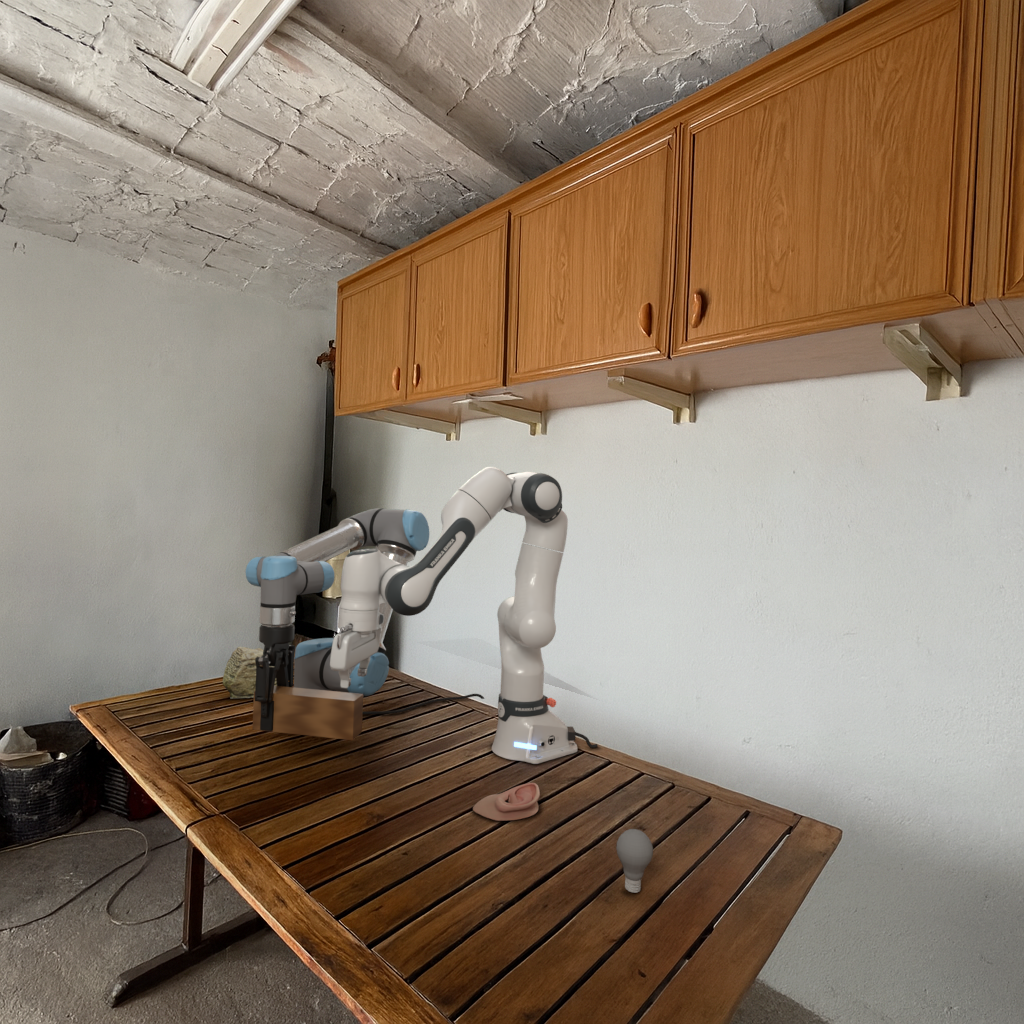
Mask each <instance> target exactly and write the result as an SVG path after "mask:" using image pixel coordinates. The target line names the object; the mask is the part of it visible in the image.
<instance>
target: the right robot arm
mask: <svg viewBox="0 0 1024 1024" xmlns="http://www.w3.org/2000/svg"><path fill="white" fill-rule="evenodd" d="M562 509H563V491H562V486H561V484H560V482H559V481H558V480H557V479H556V478H554V477H553V476H551V475H549V474H547V473H542V472H534V471H524V472H510V473H507V474H506V473H505V472H504V471H503V470H502V469H499V468H498V467H495V466H486V467H484V468H482V469H481V470H479V471H478V472H477V473H475V474H474V475H472V477H470V478H469V479H467V480H466V481H465V482H464V483H463V484H462V485H461V486H460V487H459V488H458V489H457V490H456V491H455V492H454V493H453V494H452V495H451V496H450V498H449V499H448V500H447V502H446V503H445V504H444V506H443V508H442V509H441V512H440V522H441V525H442V528H441V533H440V534H439V536H438V538H437V539H436V541H435V542H434V543H433V544H432V545H431V546H430V548H429V549H428V550H427V551H426V552H425V553H424V555H423V556H422V557H421V558H420V559H419V560H418V562H416V563H415V564H413V565H411V566H409V565H407V566H406V565H404V564H401V563H398V562H396V561H394V560H392V559H390V558H388V557H387V556H385V555H384V554H382V553H381V552H380V551H379V550H377V549H376V548H359V549H357V550H351V551H350V552H349V553H348V554H346V556H345V558H344V560H343V564H342V570H341V577H340V592H341V599H340V602H339V605H338V614H337V615H338V617H337V629H339V632H338V633H337V634H335V636H334V637H333V638H334V640H333V644H332V650H331V658H330V667H331V670H335V671H339V676H340V679H341V684H340V686H341V687H342V688H348V687H349V686H350V685H351V678H350V676H349V673H350V669H351V668H352V667H353V666H355V665H357V664H358V663H360V665H359V668H358V673H357V675H358V676H359V677H364V676H365V675H367V668H368V665H369V662H370V656H372V655H373V654H375V653H377V651H378V649H379V645H380V638H381V629H382V627H381V624H383V622H384V615H383V614H381V613H380V612H379V605H380V604H382V603H388V604H389V605H390V606H391V608H392V609H393V611H394V612H395V613H397V614H399V615H401V616H407V617H410V616H411V617H413V616H416V615H419V614H420V613H423V611H425V610H426V609H427V608H428V607H430V604H431V602H432V600H433V598H434V595H435V592H436V590H437V588H438V586H439V583H440V582H441V581H442V579H443V578H444V577H445V575H446V574H447V573H448V572H449V571H450V569H451V568H452V567H453V566H454V564H455V563H456V562H457V560H459V559H460V557H461V556H462V555H463V553H464V552H465V551H466V549H467V548H468V547H469V546H470V545H471V543H472V542H473V541H474V540H475V538H476V537H477V536H478V535H480V533H481V532H482V531H483V530H484V529H485V528H486V527H487V526H488V525H489V524H490V523H491V522H492V520H493V519H494V518H495V517H496V516H497V515H498V514H499V513H500V512H501V511H502V510H503V511H505V512H507V513H510V514H516V515H519V516H523V518H524V520H525V531H524V535H523V538H522V543H521V546H520V550H519V554H518V558H517V562H516V566H515V570H514V576H515V585H514V595H513V596H509V597H506V598H505V599H504V600H502V601H501V602H500V604H499V606H498V607H497V614H496V617H497V623H498V636H499V637H498V638H499V639H498V640H499V652H500V663H501V667H500V668H501V669H500V692H499V694H498V698H497V699H498V700H497V701H498V702H497V724H496V731H495V735H494V739H493V742H492V745H491V751H492V752H493V753H494V754H495V755H496V756H498V757H500V758H503V759H507V760H511V761H516V762H517V761H519V762H526V763H528V764H533V765H538V764H542V763H545V762H549V761H551V760H555V759H559V758H562V757H565V756H568V755H572V754H576V753H578V752H579V751H578V744H577V743H576V742H575V741H576V737H578V738H581V739H583V740H584V742H585V743H586V744H587V747H588V748H590V749H596V748H598V746H599V745H598V743H594V744H592V743H591V742H590V739H589V738H588V737H587V736H586V735H584V734H582V733H579V732H577V731H576V730H575V728H574V726H567V724H566V722H565V721H563V720H562V719H561V718H560V717H559V716H557V714H555V713H554V712H553V711H552V710H550V709H549V707H551V708H555V707H556V706H557V700H556V699H554V698H552V697H548V696H546V695H545V694H544V681H545V663H544V660H543V655H542V649H543V648H545V647H546V646H549V644H551V642H552V641H553V640H554V637H556V632H557V624H556V621H555V620H556V618H555V613H556V598H557V597H556V594H557V586H558V585H557V584H558V578H559V574H560V569H561V565H562V562H563V558H564V552H565V548H566V543H567V538H568V537H567V536H568V526H569V525H568V523H569V522H568V521H569V519H568V515H567V513H566V512H565V511H563V510H562Z"/></svg>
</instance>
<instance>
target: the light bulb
mask: <svg viewBox="0 0 1024 1024" xmlns="http://www.w3.org/2000/svg"><path fill="white" fill-rule="evenodd" d="M615 849H616V854H617V857H618V859H619V861H620V863H621V865H622V867H623V873H624V874H623V875H624V876H625V878H624V888H625V890H627V891H628V892H630V893H634V894H635V893H639V892H640V891H641V889H642V887H641V886H642V879H643V877H644V875H645V871H646V868H647V867H648V866H649V864H650V863H651V861H652V859H653V855H654V847H653V843H652V841H651V838H649V836H648V835H647V834H646V833H645V832H643V831H642V830H641V829H636V828H629V829H627V830H625V831H623V832H622V833H621V834H620V835H619V837H618V839H617V841H616V847H615Z"/></svg>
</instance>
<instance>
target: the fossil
mask: <svg viewBox="0 0 1024 1024" xmlns="http://www.w3.org/2000/svg"><path fill="white" fill-rule="evenodd" d="M263 650H264V648H260V647H258V648H251V647H247V646H246V647H245V646H238V647H237V648H236V649H235V650H233V651H232V653H231V656H230V657H229V659H228V660H227V663H226V666H225V668H224V671H223V675H222V676H223V677H222V685H223V687H224V688H225V690H226V691H228V693H229V698H230V699H250V698H254V691H255V685H256V662H255V659H256V657H261V656H262V655H263ZM269 667H274V666H269ZM274 686H277V682H276V678H275V684H274Z"/></svg>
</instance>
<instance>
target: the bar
mask: <svg viewBox="0 0 1024 1024" xmlns="http://www.w3.org/2000/svg"><path fill="white" fill-rule="evenodd" d="M272 701H274V718H273V730H272V731H269V732H271V733H280V734H290V735H301V736H307V737H308V736H310V737H318V738H326V739H327V738H329V739H337V740H346V741H347V740H348V741H354V740H355V739H356V738H357V737H358V736H359V735H360V734H361V733H362V732H363V717H364V716H363V715H364V714H363V712H364V696H363V694H359V693H348V692H340V691H327V690H316V689H305V688H295V687H294V686H293V687H284V686H274V690H273V696H272ZM252 707H253V708H252V730H254V731H261V732H267V731H266V730H260V719H261V702H258V701H255V691H254V697H253V706H252Z"/></svg>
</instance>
